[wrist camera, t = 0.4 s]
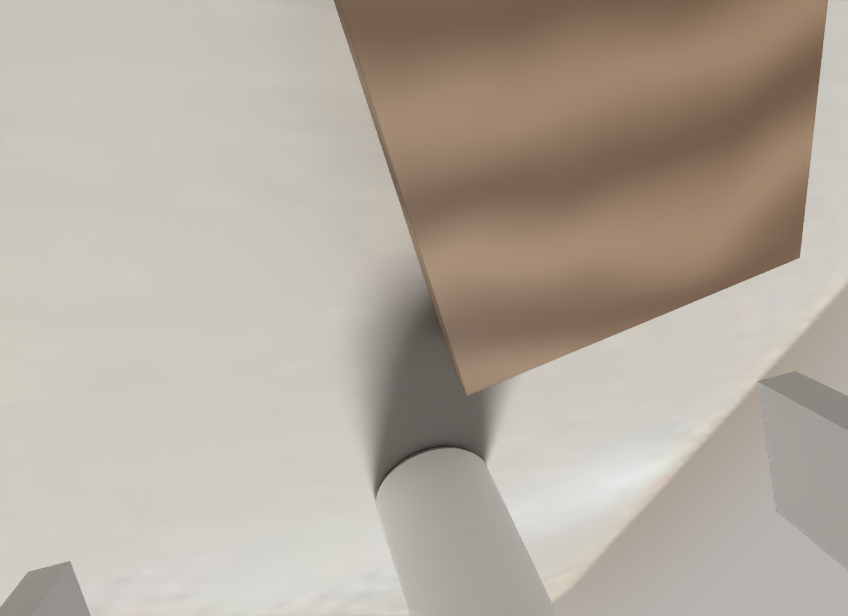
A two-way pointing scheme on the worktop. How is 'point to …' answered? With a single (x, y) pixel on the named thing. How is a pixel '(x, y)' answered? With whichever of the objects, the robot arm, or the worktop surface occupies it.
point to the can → (456, 539)
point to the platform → (587, 157)
